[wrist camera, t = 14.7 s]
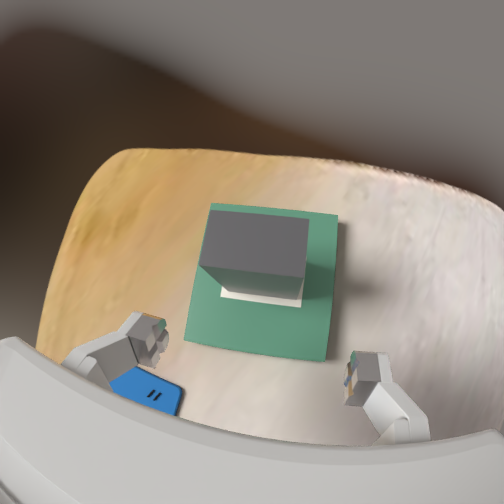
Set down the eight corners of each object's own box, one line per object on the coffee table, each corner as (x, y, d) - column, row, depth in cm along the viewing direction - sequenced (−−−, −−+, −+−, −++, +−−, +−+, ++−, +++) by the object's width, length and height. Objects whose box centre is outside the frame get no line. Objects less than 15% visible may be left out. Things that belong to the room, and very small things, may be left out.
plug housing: (296, 299, 22) (304, 277, 14) (227, 291, 23) (198, 264, 15) (300, 260, 23) (309, 218, 15) (234, 253, 24) (210, 209, 16)
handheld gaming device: (180, 389, 22) (149, 499, 18) (184, 387, 23) (153, 495, 19) (109, 354, 23) (88, 462, 19) (115, 354, 24) (93, 459, 20)
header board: (322, 360, 22) (330, 365, 18) (189, 340, 24) (171, 339, 20) (335, 221, 26) (343, 200, 22) (214, 209, 28) (203, 188, 23)
